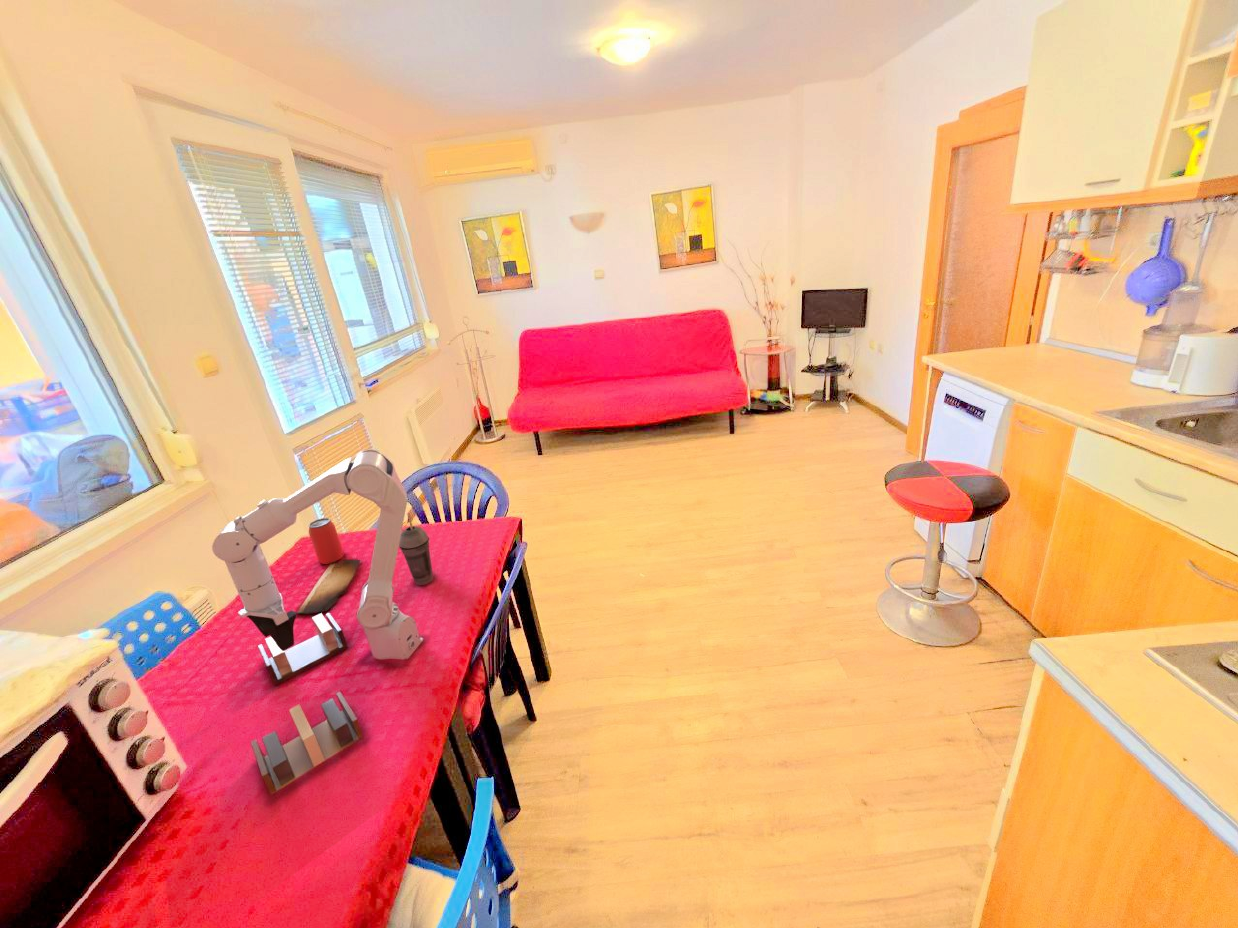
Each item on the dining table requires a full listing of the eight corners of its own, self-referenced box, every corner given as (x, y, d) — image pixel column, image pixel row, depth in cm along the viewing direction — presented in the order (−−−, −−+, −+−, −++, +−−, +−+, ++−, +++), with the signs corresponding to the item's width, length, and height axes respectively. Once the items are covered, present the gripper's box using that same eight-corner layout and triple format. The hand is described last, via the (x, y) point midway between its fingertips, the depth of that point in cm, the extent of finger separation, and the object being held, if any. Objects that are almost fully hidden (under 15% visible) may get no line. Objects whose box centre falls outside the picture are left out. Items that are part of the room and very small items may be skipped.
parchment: (332, 562, 144) (331, 560, 144) (367, 556, 145) (366, 554, 145) (292, 619, 121) (291, 616, 121) (335, 611, 122) (333, 609, 122)
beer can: (322, 555, 149) (309, 519, 144) (346, 550, 151) (334, 515, 146) (316, 567, 143) (303, 530, 139) (342, 561, 145) (329, 525, 140)
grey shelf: (348, 711, 93) (340, 691, 92) (365, 739, 87) (357, 718, 85) (260, 763, 85) (250, 741, 83) (272, 799, 78) (262, 776, 77)
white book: (309, 729, 89) (299, 703, 87) (325, 760, 83) (313, 733, 81) (299, 735, 88) (288, 709, 86) (314, 767, 82) (302, 740, 80)
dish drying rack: (335, 629, 116) (327, 608, 114) (348, 647, 110) (340, 625, 108) (265, 664, 107) (255, 641, 105) (275, 685, 101) (265, 662, 99)
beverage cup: (429, 569, 137) (412, 503, 130) (444, 577, 133) (427, 510, 125) (404, 582, 132) (385, 514, 125) (418, 591, 128) (399, 522, 120)
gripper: (215, 582, 95) (241, 639, 100) (246, 606, 87) (272, 667, 92) (257, 564, 100) (279, 619, 105) (289, 584, 92) (312, 643, 97)
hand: (279, 640), depth 99 cm, fingers open, 7 cm apart
